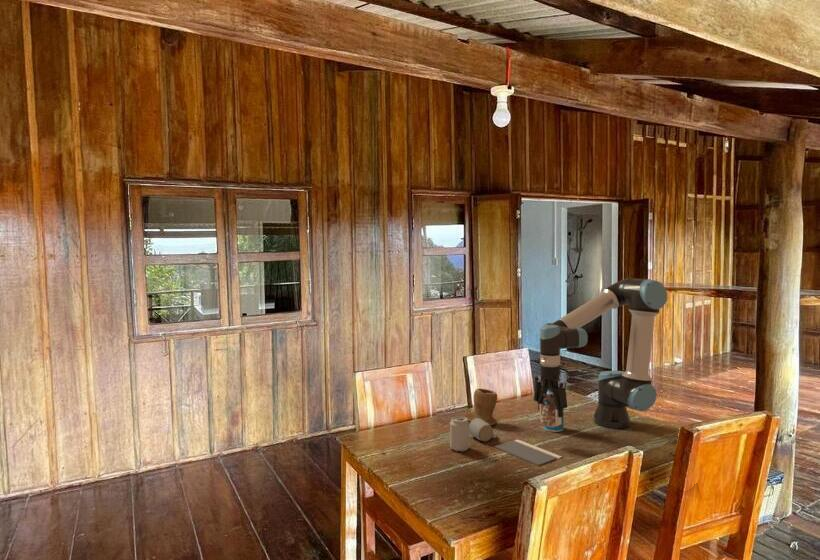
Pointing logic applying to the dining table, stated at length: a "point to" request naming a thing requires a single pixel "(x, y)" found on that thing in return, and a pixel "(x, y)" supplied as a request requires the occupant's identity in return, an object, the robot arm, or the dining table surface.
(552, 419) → the figurine
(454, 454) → the dining table surface
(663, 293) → the robot arm
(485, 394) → the brown boot planter
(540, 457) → the mat
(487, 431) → the ceramic mug
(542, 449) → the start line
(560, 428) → the beverage bottle
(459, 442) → the can
